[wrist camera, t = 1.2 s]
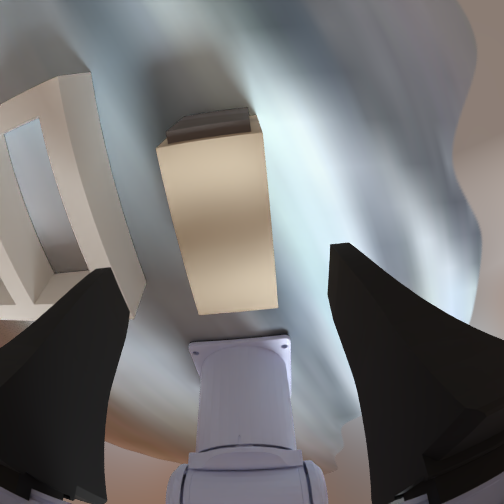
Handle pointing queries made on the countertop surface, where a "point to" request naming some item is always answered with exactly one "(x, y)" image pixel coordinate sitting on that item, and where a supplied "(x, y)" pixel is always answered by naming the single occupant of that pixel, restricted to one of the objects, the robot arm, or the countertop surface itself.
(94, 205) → the white open frame
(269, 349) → the robot arm
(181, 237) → the beige boxy piece
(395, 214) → the countertop surface
